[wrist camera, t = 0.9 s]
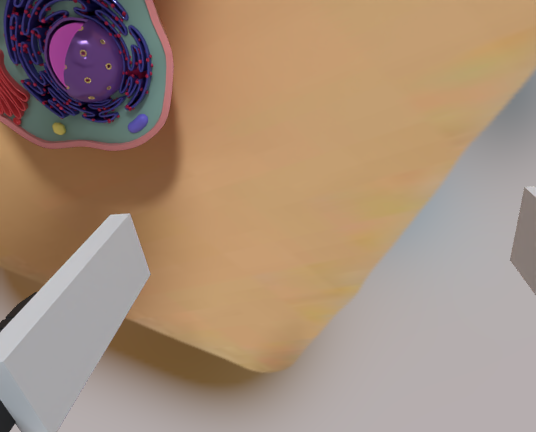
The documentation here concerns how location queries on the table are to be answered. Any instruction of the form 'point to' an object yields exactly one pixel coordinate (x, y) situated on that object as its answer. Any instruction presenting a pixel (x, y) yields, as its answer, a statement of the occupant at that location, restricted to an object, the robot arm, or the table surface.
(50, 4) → the cell model
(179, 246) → the table surface
